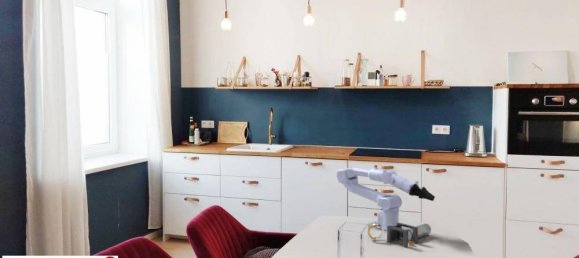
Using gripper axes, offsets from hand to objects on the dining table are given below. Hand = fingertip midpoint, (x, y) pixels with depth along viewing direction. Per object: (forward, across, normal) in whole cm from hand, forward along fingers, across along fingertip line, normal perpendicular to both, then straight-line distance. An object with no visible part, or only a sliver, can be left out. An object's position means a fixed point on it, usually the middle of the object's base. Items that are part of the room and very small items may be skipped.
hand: (430, 197), depth 209 cm
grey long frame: (+1, +2, +19) cm, 19 cm away
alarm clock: (-9, -12, +27) cm, 31 cm away
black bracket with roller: (0, -8, +22) cm, 24 cm away
